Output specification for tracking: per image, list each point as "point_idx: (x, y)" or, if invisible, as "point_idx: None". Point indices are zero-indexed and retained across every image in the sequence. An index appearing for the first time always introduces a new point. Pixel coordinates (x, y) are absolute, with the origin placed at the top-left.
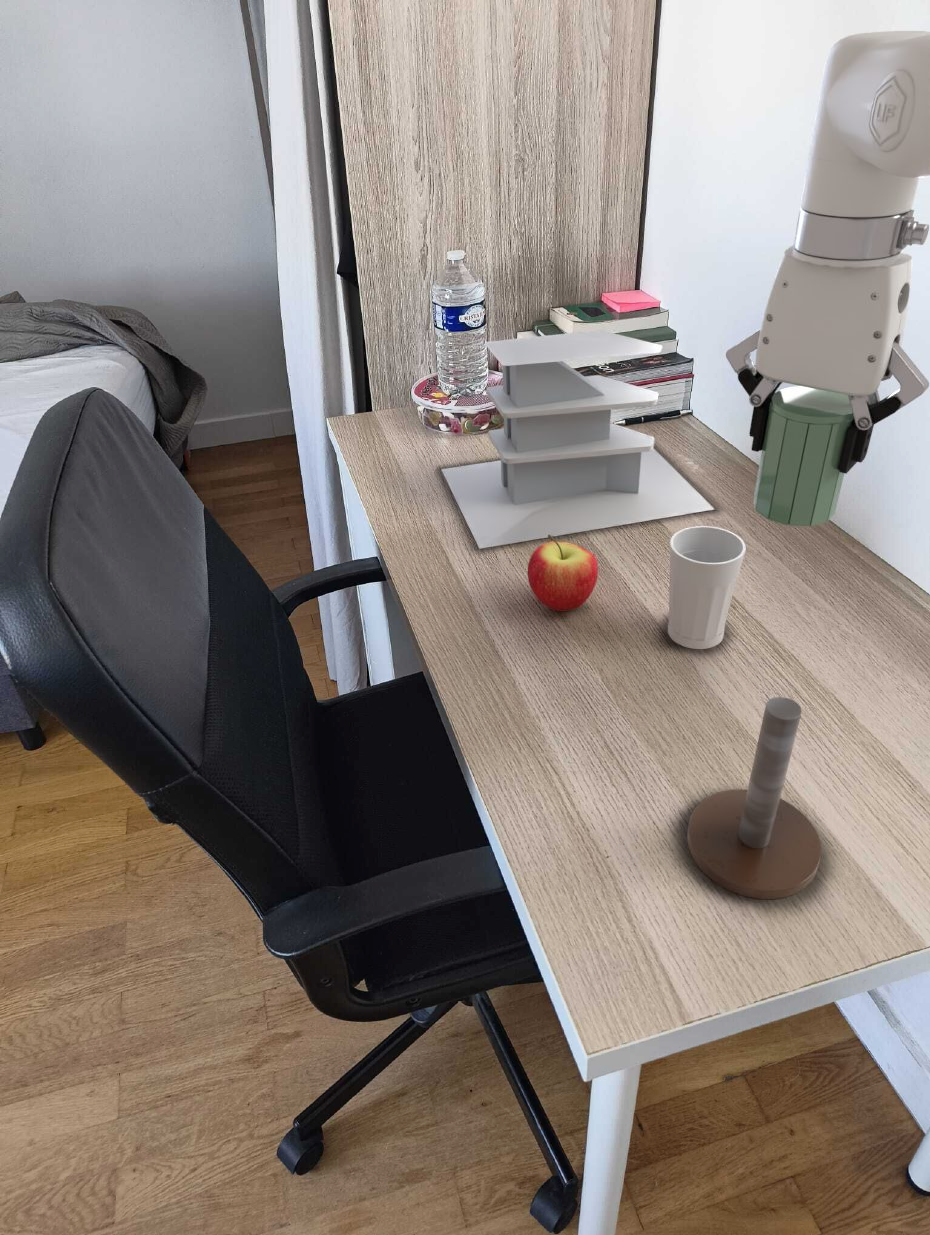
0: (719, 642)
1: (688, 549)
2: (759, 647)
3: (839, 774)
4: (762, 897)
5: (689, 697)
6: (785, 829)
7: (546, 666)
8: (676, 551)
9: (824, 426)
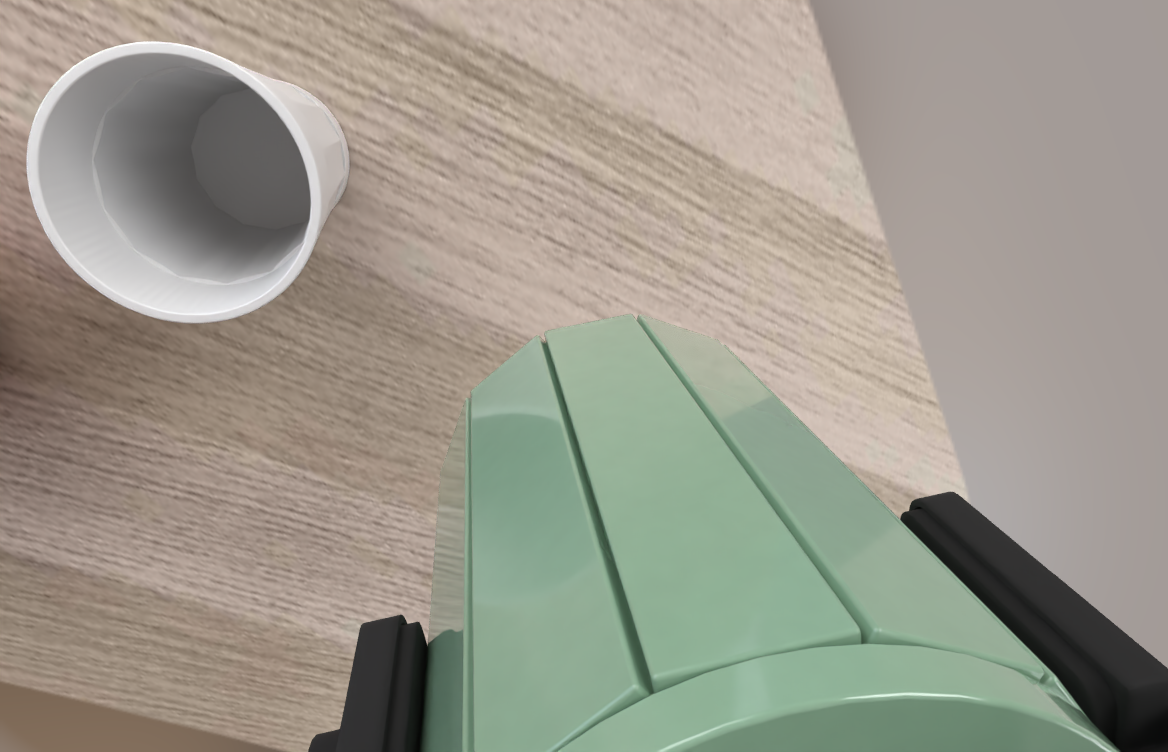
0: (348, 151)
1: (90, 137)
2: (428, 88)
3: (769, 329)
4: None
5: (438, 364)
6: None
7: (150, 513)
8: (146, 309)
9: None
